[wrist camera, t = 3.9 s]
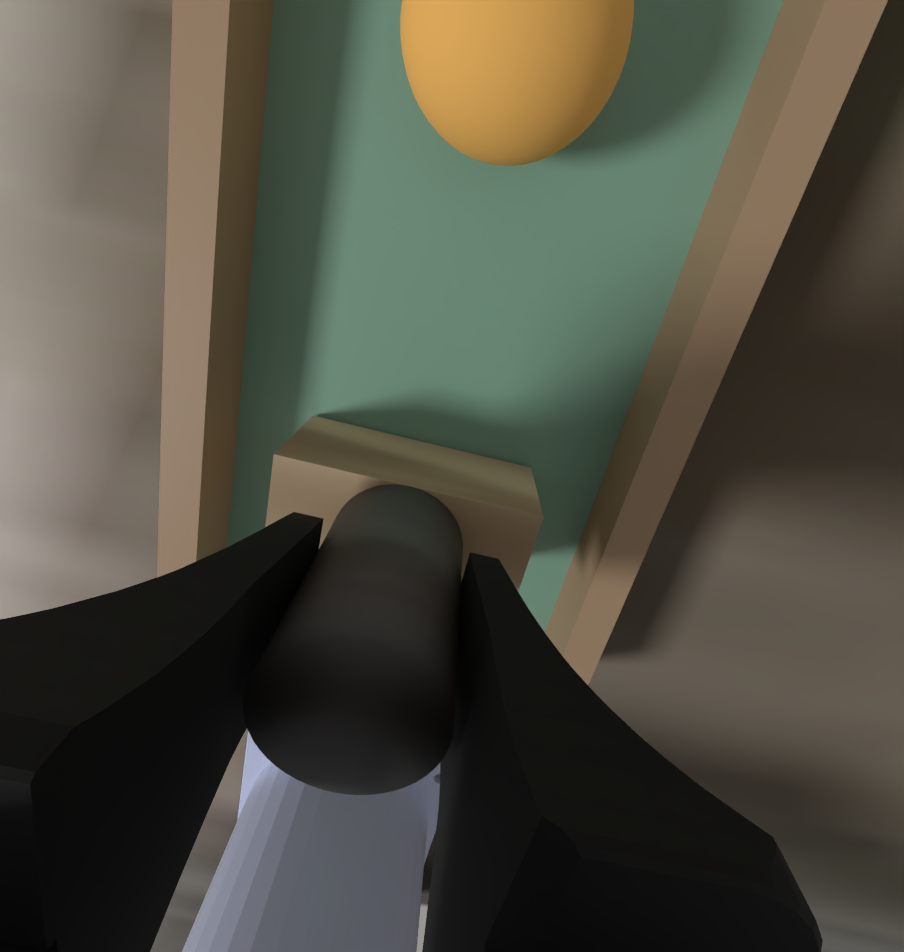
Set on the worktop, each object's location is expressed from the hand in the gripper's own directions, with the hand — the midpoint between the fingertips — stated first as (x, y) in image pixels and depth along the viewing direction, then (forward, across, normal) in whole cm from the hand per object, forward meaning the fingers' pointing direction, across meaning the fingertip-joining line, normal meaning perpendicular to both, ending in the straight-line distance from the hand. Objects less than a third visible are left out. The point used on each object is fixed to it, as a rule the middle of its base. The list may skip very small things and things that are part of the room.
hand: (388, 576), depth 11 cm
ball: (+2, 0, -10) cm, 10 cm away
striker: (+4, 0, 0) cm, 4 cm away
